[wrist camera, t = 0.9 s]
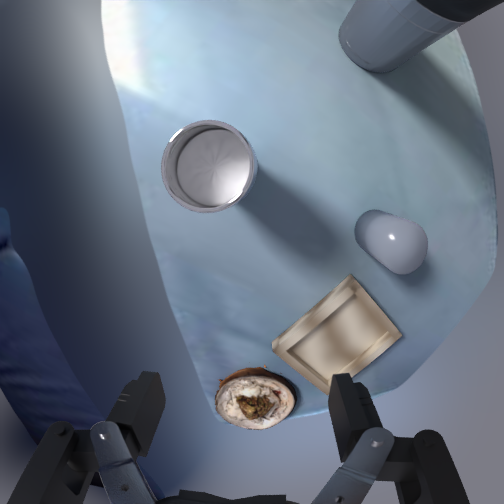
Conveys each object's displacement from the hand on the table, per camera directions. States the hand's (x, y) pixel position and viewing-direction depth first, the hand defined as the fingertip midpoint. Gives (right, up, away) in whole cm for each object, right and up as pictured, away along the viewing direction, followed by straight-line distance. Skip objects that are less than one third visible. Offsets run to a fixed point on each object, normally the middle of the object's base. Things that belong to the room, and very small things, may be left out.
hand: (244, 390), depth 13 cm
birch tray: (+12, -5, +27) cm, 30 cm away
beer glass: (-2, +16, +22) cm, 27 cm away
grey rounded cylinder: (+16, +9, +23) cm, 29 cm away
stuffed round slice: (+1, -16, +31) cm, 35 cm away
